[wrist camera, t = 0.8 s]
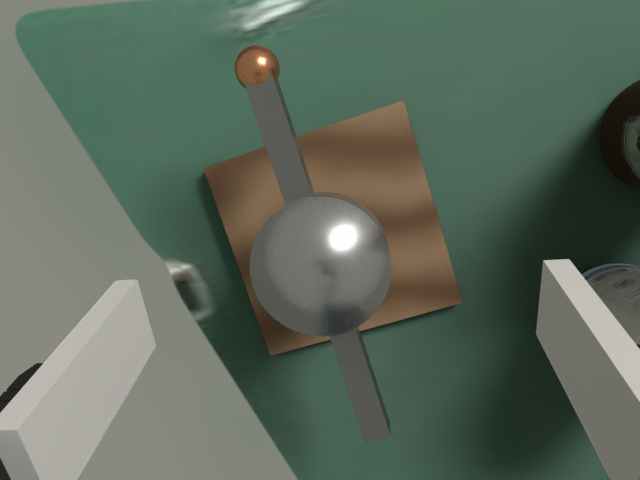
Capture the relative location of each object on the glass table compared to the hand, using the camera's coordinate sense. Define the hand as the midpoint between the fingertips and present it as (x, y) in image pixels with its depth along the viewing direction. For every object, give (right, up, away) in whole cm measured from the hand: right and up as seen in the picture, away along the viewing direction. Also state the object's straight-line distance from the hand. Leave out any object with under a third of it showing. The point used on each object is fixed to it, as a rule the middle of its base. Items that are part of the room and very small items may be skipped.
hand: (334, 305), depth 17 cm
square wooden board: (+1, +3, +29) cm, 29 cm away
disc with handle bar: (0, +2, +19) cm, 19 cm away
